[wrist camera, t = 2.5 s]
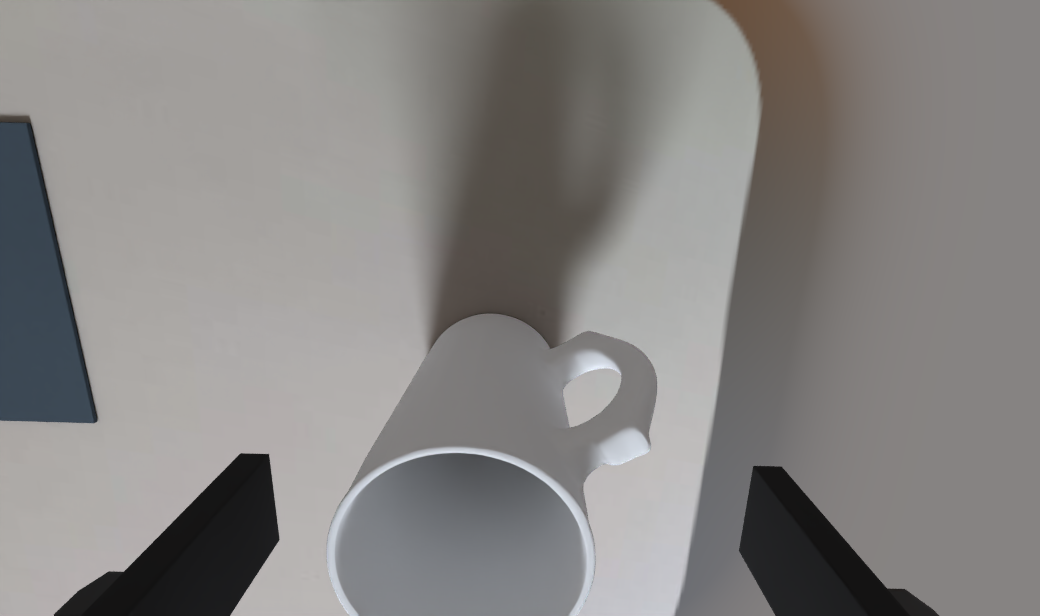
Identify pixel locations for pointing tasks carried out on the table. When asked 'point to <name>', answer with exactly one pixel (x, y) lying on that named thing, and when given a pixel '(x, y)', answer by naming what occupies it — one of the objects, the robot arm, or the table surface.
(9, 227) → the mat
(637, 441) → the mug
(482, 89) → the table surface
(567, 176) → the table surface
